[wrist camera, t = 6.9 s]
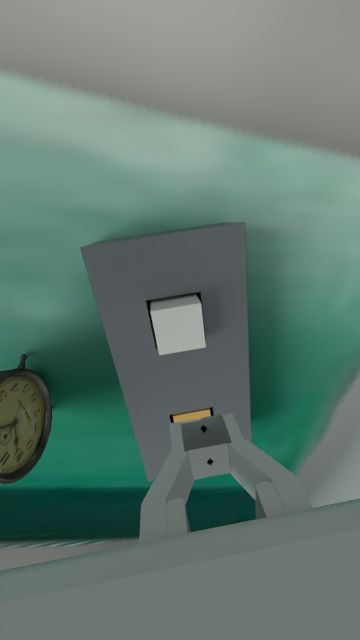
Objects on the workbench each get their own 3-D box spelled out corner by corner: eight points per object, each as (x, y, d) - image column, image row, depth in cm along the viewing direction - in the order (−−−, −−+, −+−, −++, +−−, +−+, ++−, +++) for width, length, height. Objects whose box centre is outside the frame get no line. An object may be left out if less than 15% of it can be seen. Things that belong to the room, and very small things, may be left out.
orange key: (176, 424, 32) (178, 443, 29) (171, 398, 30) (172, 416, 28) (207, 418, 32) (213, 436, 29) (204, 392, 31) (209, 409, 28)
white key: (158, 340, 25) (159, 355, 22) (150, 300, 23) (150, 311, 20) (200, 333, 25) (205, 347, 22) (195, 293, 23) (201, 303, 20)
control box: (149, 442, 37) (148, 481, 31) (96, 242, 25) (80, 247, 20) (237, 426, 37) (251, 461, 32) (225, 222, 26) (245, 222, 20)
